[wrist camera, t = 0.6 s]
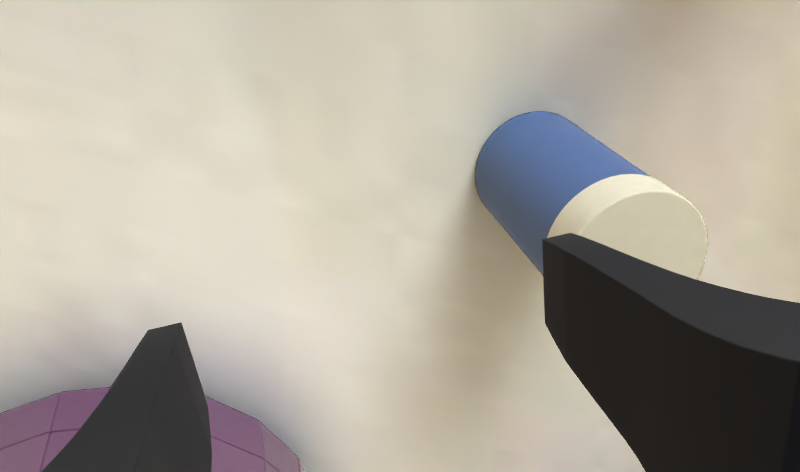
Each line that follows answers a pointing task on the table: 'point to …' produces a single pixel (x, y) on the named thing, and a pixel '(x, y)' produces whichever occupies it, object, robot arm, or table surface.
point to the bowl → (67, 411)
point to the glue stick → (583, 195)
